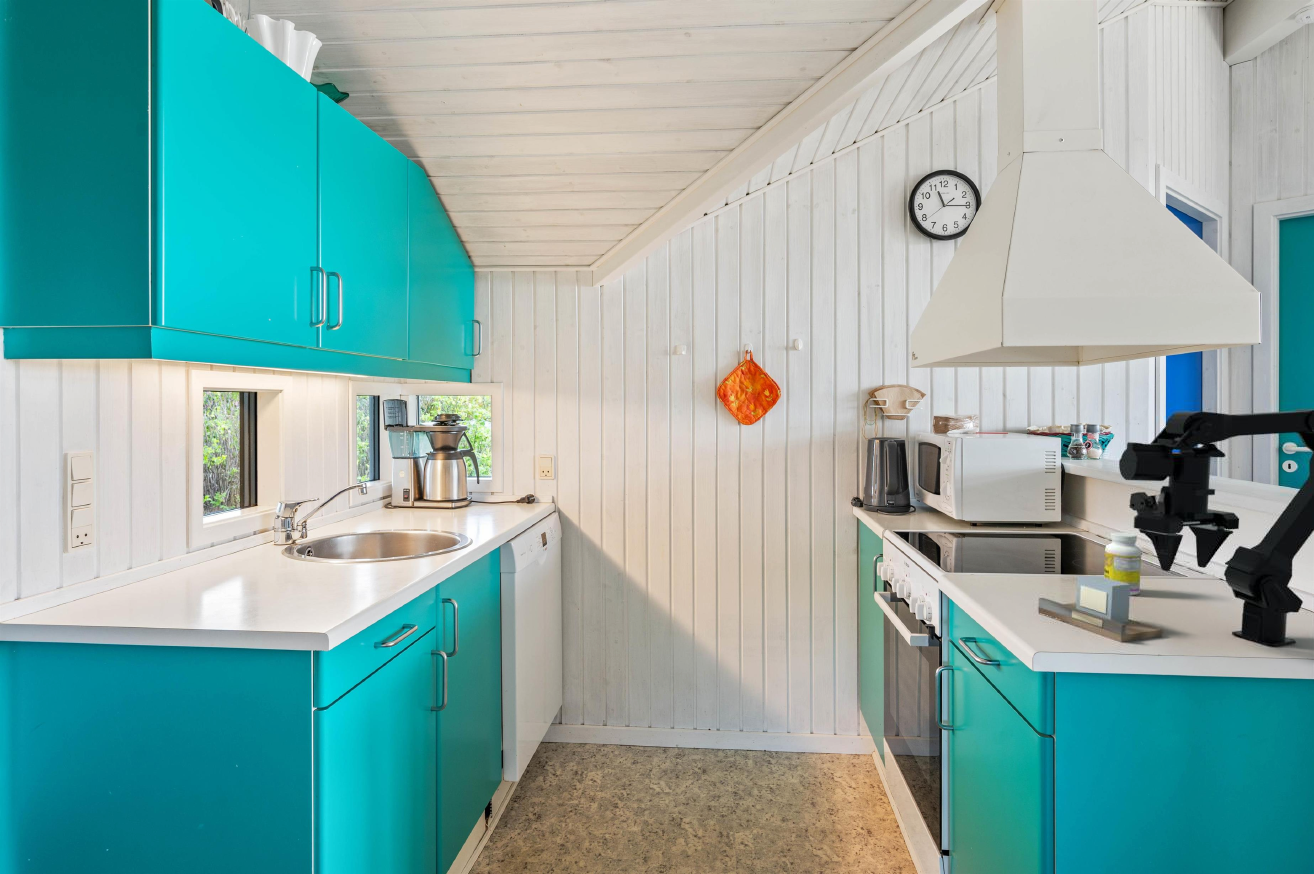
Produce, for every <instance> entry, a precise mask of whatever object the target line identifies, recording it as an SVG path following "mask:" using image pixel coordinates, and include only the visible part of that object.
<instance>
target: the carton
mask: <svg viewBox="0 0 1314 874" xmlns="http://www.w3.org/2000/svg"><path fill="white" fill-rule="evenodd" d="M1076 585H1077V586H1076V602H1075V603H1076V609H1080V610H1083V611H1086V612H1089V613H1092V614H1095V615H1098V616H1101V617H1104V618H1107V619H1110V620H1114V621H1117V622H1120V623H1123V622H1128V619H1129V617H1130V616H1129V615H1130V601H1131V600H1130V599H1131V597H1130V596H1131V595H1130V584H1127V583H1123V582H1119V581H1116V580H1112V579H1108V578H1104V576H1099V575H1096V574H1093V575H1081V576H1077V584H1076Z"/></svg>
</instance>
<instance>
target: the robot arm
mask: <svg viewBox="0 0 1314 874" xmlns="http://www.w3.org/2000/svg"><path fill="white" fill-rule="evenodd" d="M1274 434H1297V435H1298V437H1299V439H1300V441H1301V442H1302V443H1303V446H1305V447H1306V448H1307V449H1309V450H1310V451H1311V452H1312V455H1311V456H1310V459H1309V463H1308V464H1309V465H1308V467H1309V470H1308V471H1309V472H1308V474H1309V475H1308V477H1307V479H1306V480H1305V482H1304V483H1303V484H1302V486H1301V487H1300V488H1299V490H1298V491H1297V492H1296V494H1295V495H1294V496H1293V498H1292V499H1291V500H1290V502H1289V503H1288V504H1287V506H1286V507H1285V508H1284V510H1283V511H1282V513H1281V514H1280V515H1279V517H1278V518H1277V519H1276V521H1275V522H1274V523H1273V525H1272V526H1271V528H1270V529H1269V530H1268V531H1267V533H1266V534H1265V535H1264V537H1263V538H1262V540H1261V541H1260V542H1259V543H1258V544H1257V545H1255V546H1252V547H1250V548H1248V547H1246V546H1241V545H1240V546H1238V547H1237V548H1236V549H1235V551H1234V553H1233V555H1232V556H1231V558H1230V559H1229V560H1227V561H1226V562H1224V565H1225V566H1226V568H1225V570H1224V573H1223V575H1224V577H1225V581H1226V583H1227V585H1228V586H1229V587H1230V588H1231V590H1232V593H1233V595H1234V597H1235V598H1236V599H1239V600H1242V601H1243V604H1242V605H1243V606H1242V615H1241V629H1240V630H1235V631H1231V635H1232V636H1236V637H1238V638H1242V639H1246V640H1248V641H1249V640H1250V641H1252V642H1256V643H1259V644H1263V645H1266V646H1270V647H1278V646H1285V645H1291V644H1295V643H1297V640H1296V639H1294V638H1290V637H1287V636H1286V635H1287V618H1288V614H1290V613H1299V612H1300V609H1301V608H1302V605H1303V603H1304V602H1303V600H1302V599H1301V598H1300V597H1299V596H1298V595H1297V594H1296V593H1295V592H1294V591H1293V590H1292V589H1291V588H1290V587H1289V584H1290V581H1291V580H1292V578H1293V561H1294V558H1295V556H1296V555H1297V553H1298V552H1299V551H1300V550H1301V548H1302V547H1303V546H1304V544H1305V543H1306V542H1307V540H1308V539H1309V538H1310V537H1311V535H1312V534H1313V532H1314V409H1308V408H1307V409H1304V408H1300V409H1296V410H1289V411H1272V412H1254V413H1238V414H1237V413H1236V414H1230V413H1220V412H1210V411H1195V410H1194V411H1189V410H1185V411H1184V410H1183V411H1181V410H1180V411H1176V412H1173V413H1172V414H1171V415H1170V416H1169V418H1168V419H1167V420H1166V422H1165V426H1164V427H1163V428H1162V429H1161V431H1160V432H1159V433H1158V434H1157V435H1156V437H1155V438H1154V439H1153V440H1151V442H1150V443H1142V442H1131V441H1130V442H1127V443H1126V449H1124V451H1123V452H1122V455H1121V457H1120V459H1119V460H1118V461H1119V462H1118V465H1119V466H1118V468H1119V469H1118V470H1119V473H1120V475H1121V477H1122V479H1124V480H1126V481H1138V482H1139V481H1141V482H1142V481H1144V482H1163V481H1166V480H1167V478H1168V484H1167V485H1161V486H1162V487H1161V488H1160V492H1159V494H1155V495H1148V494H1147V493H1146V492H1145V491H1143V492H1142V491H1138V492H1134V493H1130V498H1129V508H1130V509H1131V510H1133V511H1136V515H1135V516H1134V517H1133V528H1134V529H1138V531H1139V532H1140V533H1141V534H1144V535H1145V536H1146V537H1147V538H1148V539H1149V540H1150V541H1151V544H1152V545H1153V547H1154V550H1155V553H1156V557H1157V560H1158V562H1159V565H1160V569H1161V570H1162V571H1165V572H1170V570H1171V568H1172V567H1173V564H1174V561H1175V559H1176V556H1177V553H1178V551H1179V549H1180V545H1181V543H1182V540H1183V538H1184V535H1183V534H1180V533H1181V532H1182V530H1183V529H1184V527H1188V528H1189V529H1190V530H1191V532H1192V533H1193V535H1194V537H1195V545H1196V546H1195V548H1196V550H1195V551H1196V562H1197V567H1199V568H1202V569H1204V568H1206V567H1207V566H1208V564H1209V563H1210V562H1211V560H1212V559H1213V557H1214V556H1215V555H1216V553H1217V551H1218V550H1219V549H1220V548H1221V547H1222V545H1223V544H1224V543H1225V541H1226V540H1227V539H1228V538H1229V536H1230V535H1233V534H1234V530H1239V529H1240V518H1239V517H1238V515H1237V514H1236V513H1235V512H1230V511H1224V510H1217V509H1209V497H1210V496H1215V495H1216V489H1215V488H1210V476H1211V475H1210V474H1211V460H1212V459H1211V458H1225V457H1226V453H1224V452H1223V451H1222V450H1221V449H1219V448H1218V447H1217V446H1216V444H1215V443H1217V442H1223V441H1226V440H1229V439H1231V438H1235V437H1240V436H1241V437H1242V436H1255V435H1257V436H1258V435H1259V436H1260V435H1274ZM1199 445H1202V446H1200V447H1197V446H1199ZM1174 450H1175V451H1176V452H1173V451H1174ZM1177 451H1178V452H1177Z"/></svg>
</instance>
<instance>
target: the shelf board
mask: <svg viewBox="0 0 1314 874" xmlns="http://www.w3.org/2000/svg"><path fill="white" fill-rule="evenodd" d="M1037 609H1038V610H1037V613H1038V612H1039V613H1038V614H1040V613H1042V614H1045V615H1048V616H1051V617H1053V618H1052V619H1054V618H1057V619H1060V620H1062V621H1065V622H1068V623H1071V624H1074V625H1076V626H1075V627H1077V626H1078V627H1077V628H1079V627H1081V628H1080V629H1082V628H1083V630H1085V629H1086V631H1088V630H1089V631H1088V632H1091V633H1094V634H1097V635H1100V636H1103V637H1105V638H1108V639H1111V640H1115V641H1117V642H1119V643H1125V642H1130V641H1131V642H1132V641H1136V640H1145V639H1152V638H1153V639H1154V638H1160V637H1163V629H1161V628H1158V627H1154V626H1152V625H1149V624H1145V623H1142V622H1138V621H1135V620H1133V619H1128V622H1123V623H1120V622H1117V621H1114V620H1110V619H1107V618H1104V617H1101V616H1098V615H1095V614H1092V613H1089V612H1086V611H1083V610H1080V609H1076V602H1072V603H1061V602H1058V601H1054V600H1052V599H1048V598H1045V597H1038V607H1037ZM1042 614H1041V615H1042ZM1045 615H1044V616H1045ZM1048 616H1047V617H1048ZM1051 617H1050V618H1051ZM1057 619H1056V620H1057ZM1062 621H1061V622H1062ZM1065 622H1064V623H1065ZM1068 623H1067V624H1068ZM1071 624H1070V625H1071ZM1074 625H1073V626H1074Z"/></svg>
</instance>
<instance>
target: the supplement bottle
mask: <svg viewBox="0 0 1314 874" xmlns="http://www.w3.org/2000/svg"><path fill="white" fill-rule="evenodd" d="M1137 538H1138V536H1137V534H1133V533H1130V532H1129V533H1128V532H1120V531H1119V532H1111V533H1110V539H1111V543H1109V544H1107V545H1106V546H1105V550H1104V565H1103V566H1104V567H1103V568H1104V569H1103V577H1104V578H1108V579H1112V580H1116V581H1119V582H1123V583H1127V584H1130V596H1135V595H1139V593H1140V589H1141V573H1142V572H1141V571H1142V569H1141V567H1142V549H1141V548H1140V547H1139V546H1137V545H1136V543H1137V540H1138V539H1137Z"/></svg>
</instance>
